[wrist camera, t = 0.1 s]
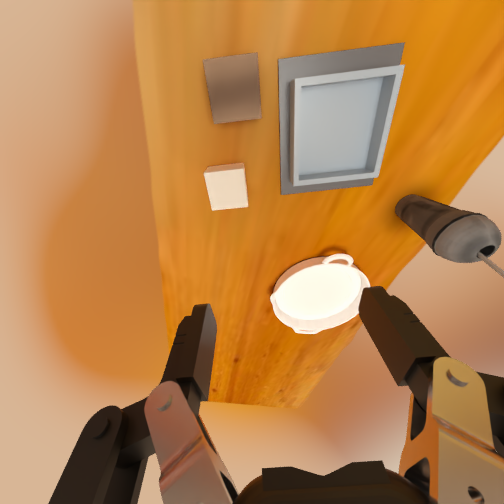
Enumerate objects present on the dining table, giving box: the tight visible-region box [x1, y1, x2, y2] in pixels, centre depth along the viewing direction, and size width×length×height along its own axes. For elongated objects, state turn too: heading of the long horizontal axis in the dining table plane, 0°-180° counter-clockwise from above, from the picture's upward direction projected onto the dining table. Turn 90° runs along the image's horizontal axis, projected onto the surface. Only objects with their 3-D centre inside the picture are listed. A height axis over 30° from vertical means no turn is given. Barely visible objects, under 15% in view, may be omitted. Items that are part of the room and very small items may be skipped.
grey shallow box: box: [278, 43, 405, 195], centre depth 30 cm, size 18×16×4 cm
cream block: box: [204, 162, 248, 211], centre depth 34 cm, size 6×6×4 cm
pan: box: [270, 254, 370, 334], centre depth 50 cm, size 24×27×4 cm
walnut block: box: [203, 53, 262, 124], centre depth 26 cm, size 6×6×6 cm
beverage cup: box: [395, 195, 504, 278], centre depth 31 cm, size 7×7×20 cm
